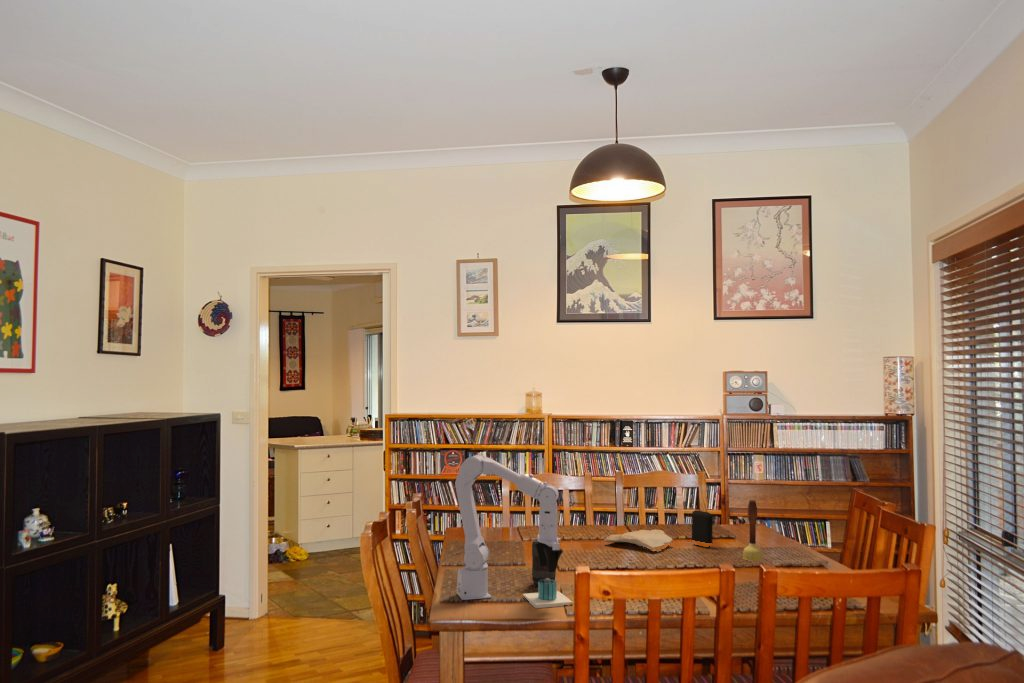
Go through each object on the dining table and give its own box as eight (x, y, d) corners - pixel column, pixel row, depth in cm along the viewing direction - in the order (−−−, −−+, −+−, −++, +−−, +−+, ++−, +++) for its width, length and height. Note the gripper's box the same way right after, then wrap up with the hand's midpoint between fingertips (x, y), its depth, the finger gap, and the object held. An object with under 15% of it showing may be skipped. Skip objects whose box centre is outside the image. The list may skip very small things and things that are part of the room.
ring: (541, 600, 228) (542, 584, 228) (535, 595, 233) (536, 579, 234) (558, 599, 230) (559, 583, 230) (552, 594, 235) (552, 578, 235)
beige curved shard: (626, 540, 326) (601, 543, 311) (627, 523, 327) (603, 525, 312) (676, 551, 311) (653, 555, 296) (678, 533, 312) (655, 535, 296)
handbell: (728, 565, 280) (728, 498, 282) (755, 563, 285) (755, 497, 286) (749, 573, 269) (749, 503, 270) (777, 571, 273) (777, 502, 274)
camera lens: (554, 582, 253) (555, 537, 254) (556, 588, 245) (557, 542, 246) (530, 582, 253) (531, 537, 254) (532, 588, 245) (532, 542, 246)
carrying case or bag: (715, 548, 308) (716, 512, 309) (711, 549, 306) (711, 513, 307) (694, 544, 316) (694, 509, 317) (690, 545, 314) (690, 510, 315)
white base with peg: (535, 608, 224) (535, 584, 224) (522, 596, 235) (523, 574, 236) (572, 605, 228) (572, 581, 228) (558, 594, 239) (558, 572, 239)
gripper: (568, 528, 227) (568, 573, 226) (551, 519, 241) (551, 562, 240) (547, 529, 225) (546, 575, 224) (531, 520, 239) (530, 563, 238)
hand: (547, 568), depth 232 cm, fingers open, 7 cm apart
